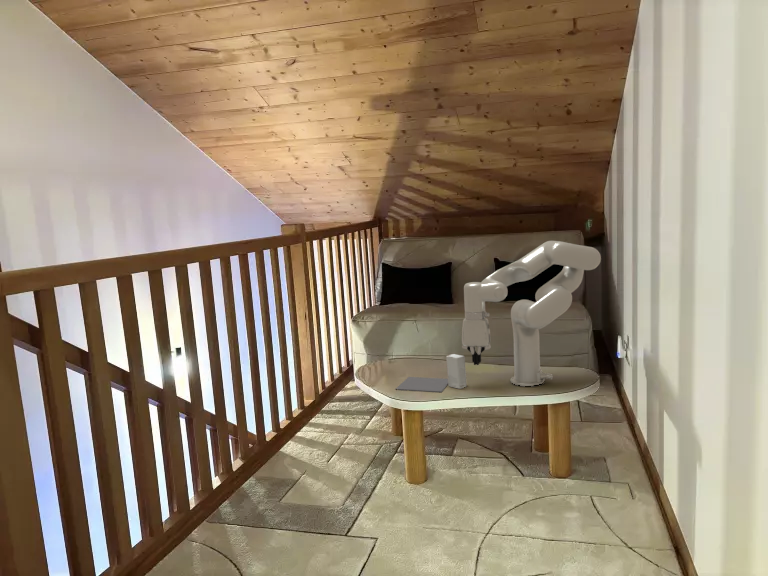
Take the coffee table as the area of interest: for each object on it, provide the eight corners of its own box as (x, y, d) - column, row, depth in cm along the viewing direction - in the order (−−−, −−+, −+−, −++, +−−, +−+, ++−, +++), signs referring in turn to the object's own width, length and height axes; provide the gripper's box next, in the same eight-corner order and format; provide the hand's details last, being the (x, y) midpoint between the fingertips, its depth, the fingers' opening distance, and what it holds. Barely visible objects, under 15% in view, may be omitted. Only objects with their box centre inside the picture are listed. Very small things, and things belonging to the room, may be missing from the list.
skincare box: (467, 386, 219) (465, 355, 217) (459, 389, 216) (457, 358, 215) (455, 383, 224) (454, 353, 222) (447, 386, 221) (445, 355, 219)
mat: (451, 379, 229) (451, 378, 229) (441, 392, 214) (441, 391, 214) (408, 377, 235) (408, 376, 235) (395, 389, 220) (395, 388, 220)
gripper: (497, 314, 214) (498, 362, 217) (457, 313, 220) (459, 360, 222) (493, 318, 207) (495, 367, 210) (452, 317, 213) (454, 365, 215)
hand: (476, 364), depth 216 cm, fingers closed
